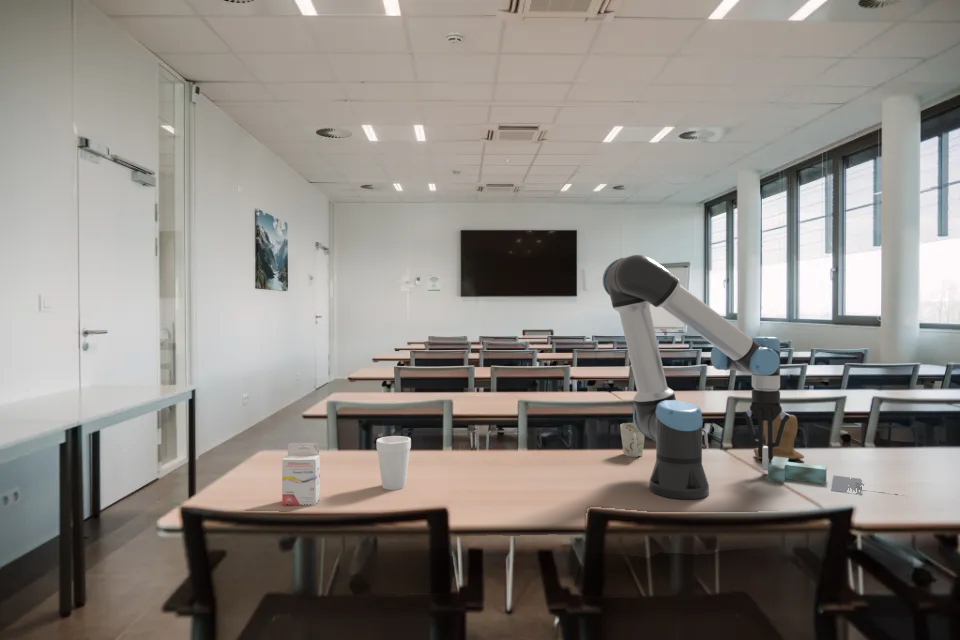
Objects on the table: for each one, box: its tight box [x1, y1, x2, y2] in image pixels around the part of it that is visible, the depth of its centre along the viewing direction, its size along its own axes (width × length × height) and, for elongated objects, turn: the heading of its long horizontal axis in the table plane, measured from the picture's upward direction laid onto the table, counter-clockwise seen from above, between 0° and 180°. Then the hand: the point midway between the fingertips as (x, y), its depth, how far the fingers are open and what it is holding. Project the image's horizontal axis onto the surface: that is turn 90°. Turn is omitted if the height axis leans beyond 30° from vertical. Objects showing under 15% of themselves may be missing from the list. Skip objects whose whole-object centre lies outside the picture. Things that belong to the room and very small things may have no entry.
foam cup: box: [375, 435, 412, 491], centre depth 165 cm, size 10×9×13 cm
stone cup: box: [753, 414, 805, 461], centre depth 193 cm, size 15×12×15 cm
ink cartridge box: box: [281, 442, 321, 506], centre depth 151 cm, size 9×5×15 cm, turn 92°
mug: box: [619, 422, 646, 458], centre depth 196 cm, size 8×13×10 cm, turn 174°
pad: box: [830, 474, 865, 496], centre depth 162 cm, size 17×17×1 cm
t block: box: [767, 456, 828, 485], centre depth 171 cm, size 14×14×4 cm
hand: (765, 468), depth 175 cm, fingers closed
